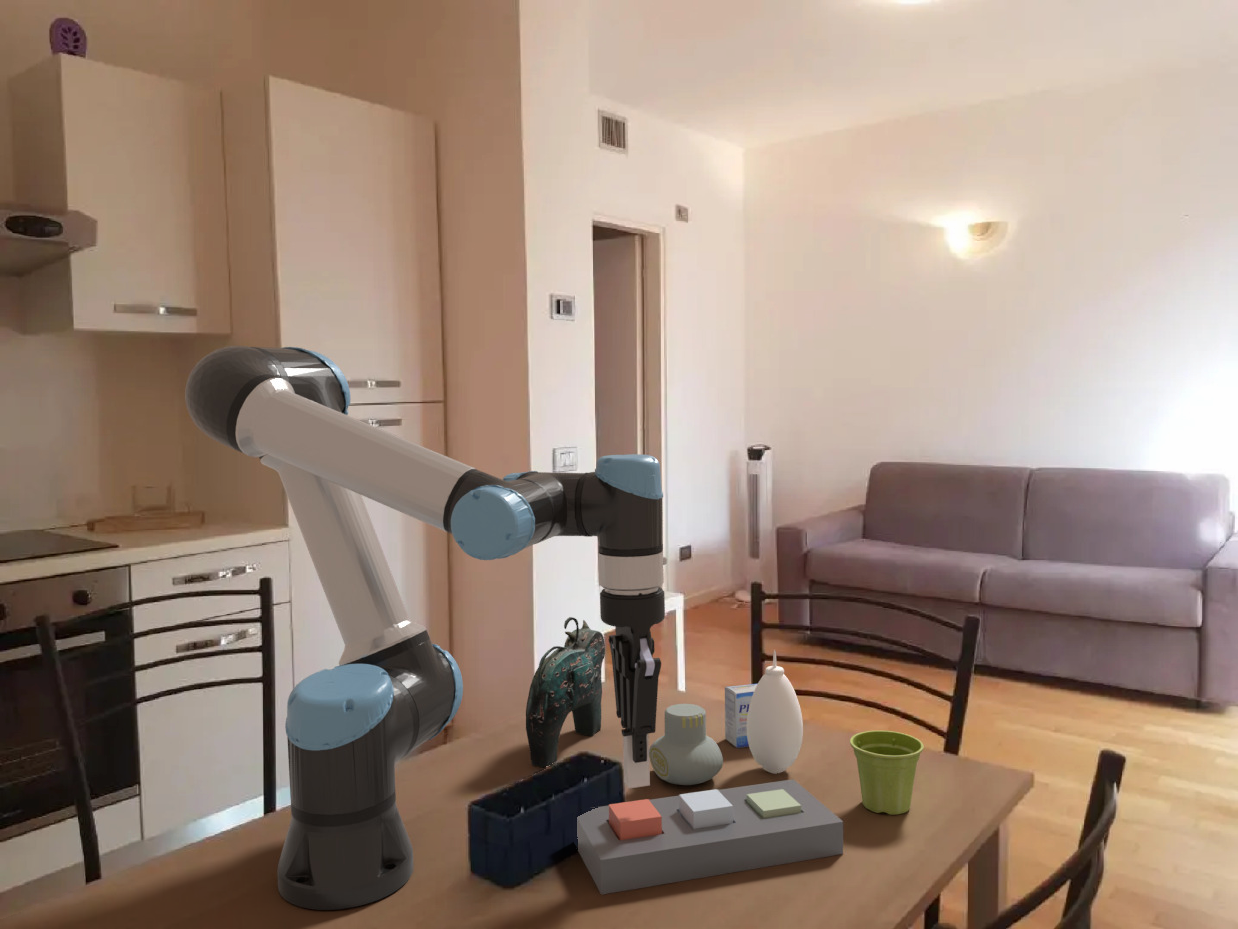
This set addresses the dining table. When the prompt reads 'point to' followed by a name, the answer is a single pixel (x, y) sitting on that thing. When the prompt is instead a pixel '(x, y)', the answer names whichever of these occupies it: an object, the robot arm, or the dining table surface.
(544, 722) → the dark green metal figure
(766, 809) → the green button
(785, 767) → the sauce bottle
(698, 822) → the white button
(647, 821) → the red button
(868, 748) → the plant pot
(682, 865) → the button panel
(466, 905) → the dining table surface
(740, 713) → the medicine box
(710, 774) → the air freshener
